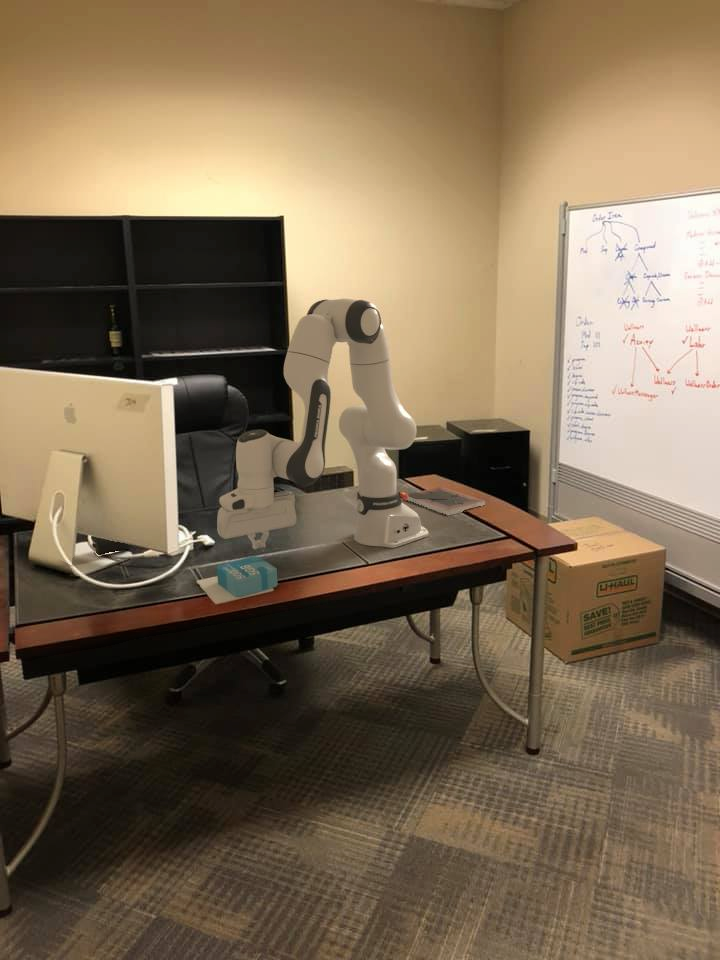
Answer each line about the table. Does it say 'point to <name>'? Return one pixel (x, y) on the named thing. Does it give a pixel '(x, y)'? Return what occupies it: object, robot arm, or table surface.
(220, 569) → the blue box
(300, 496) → the table surface
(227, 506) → the robot arm
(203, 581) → the grey pad
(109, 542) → the end cap
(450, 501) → the picture frame
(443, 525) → the table surface
